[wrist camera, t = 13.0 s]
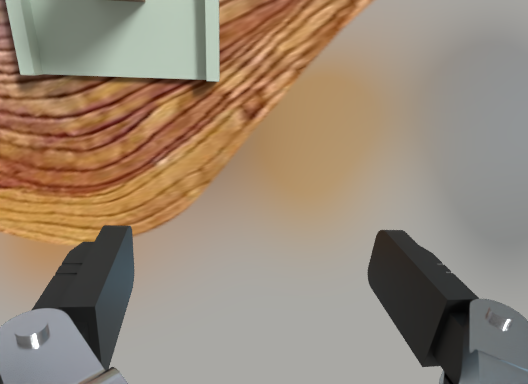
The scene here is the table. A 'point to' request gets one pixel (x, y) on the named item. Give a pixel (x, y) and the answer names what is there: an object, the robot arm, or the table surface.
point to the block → (131, 0)
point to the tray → (117, 38)
